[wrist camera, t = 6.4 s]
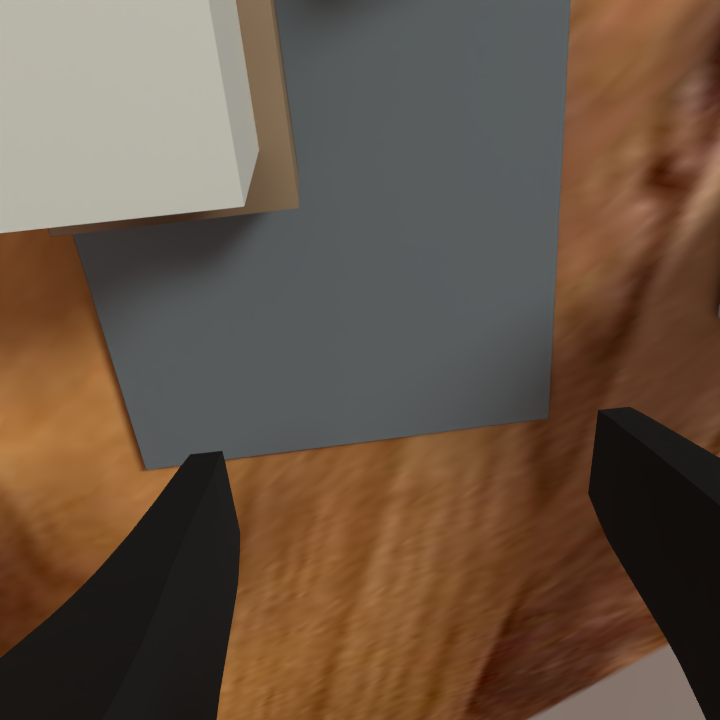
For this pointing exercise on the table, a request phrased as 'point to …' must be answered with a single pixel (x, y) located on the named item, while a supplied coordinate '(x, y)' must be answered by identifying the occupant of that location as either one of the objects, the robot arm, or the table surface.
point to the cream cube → (121, 111)
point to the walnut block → (272, 121)
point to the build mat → (361, 245)
